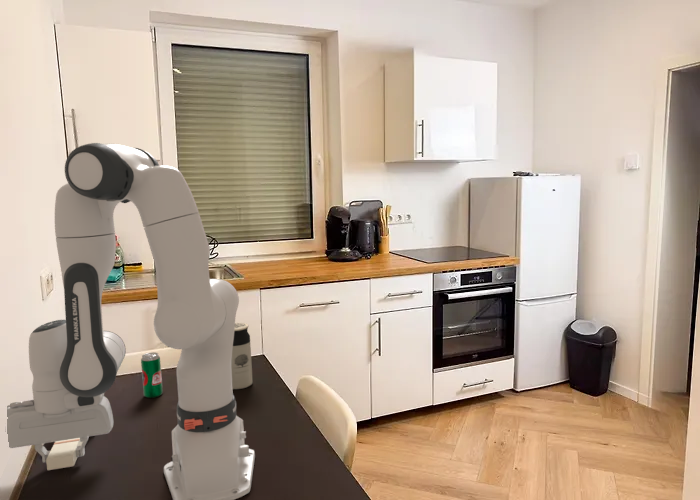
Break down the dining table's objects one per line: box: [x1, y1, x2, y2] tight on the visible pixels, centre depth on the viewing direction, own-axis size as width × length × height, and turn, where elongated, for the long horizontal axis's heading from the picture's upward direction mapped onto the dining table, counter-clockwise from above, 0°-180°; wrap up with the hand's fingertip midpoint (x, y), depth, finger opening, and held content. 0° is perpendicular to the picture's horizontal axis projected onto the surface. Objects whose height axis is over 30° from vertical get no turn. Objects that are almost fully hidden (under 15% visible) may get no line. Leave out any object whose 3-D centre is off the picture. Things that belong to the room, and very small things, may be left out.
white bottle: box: [231, 322, 253, 390], centre depth 154 cm, size 8×8×18 cm
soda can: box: [140, 351, 163, 399], centre depth 148 cm, size 5×5×12 cm
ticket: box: [45, 438, 83, 471], centre depth 116 cm, size 16×5×2 cm, turn 17°
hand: (64, 458), depth 112 cm, fingers closed on ticket, 5 cm apart
